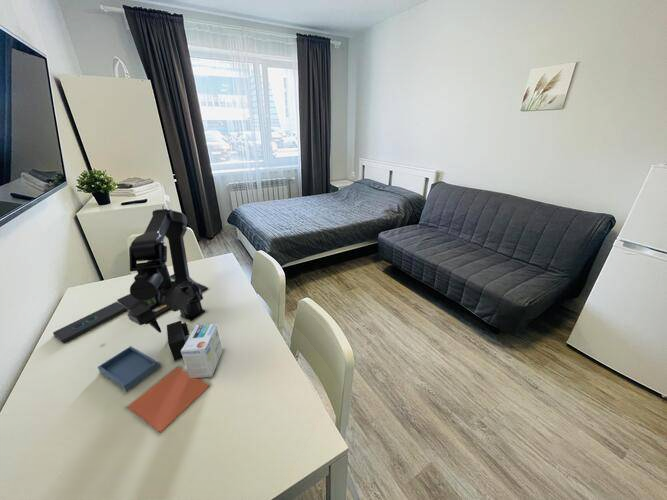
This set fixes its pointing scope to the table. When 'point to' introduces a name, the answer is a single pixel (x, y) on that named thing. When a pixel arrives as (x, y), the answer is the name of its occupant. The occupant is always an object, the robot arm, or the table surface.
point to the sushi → (149, 301)
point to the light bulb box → (202, 351)
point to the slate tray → (128, 368)
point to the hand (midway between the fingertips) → (174, 322)
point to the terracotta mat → (168, 398)
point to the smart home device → (89, 322)
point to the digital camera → (177, 338)
